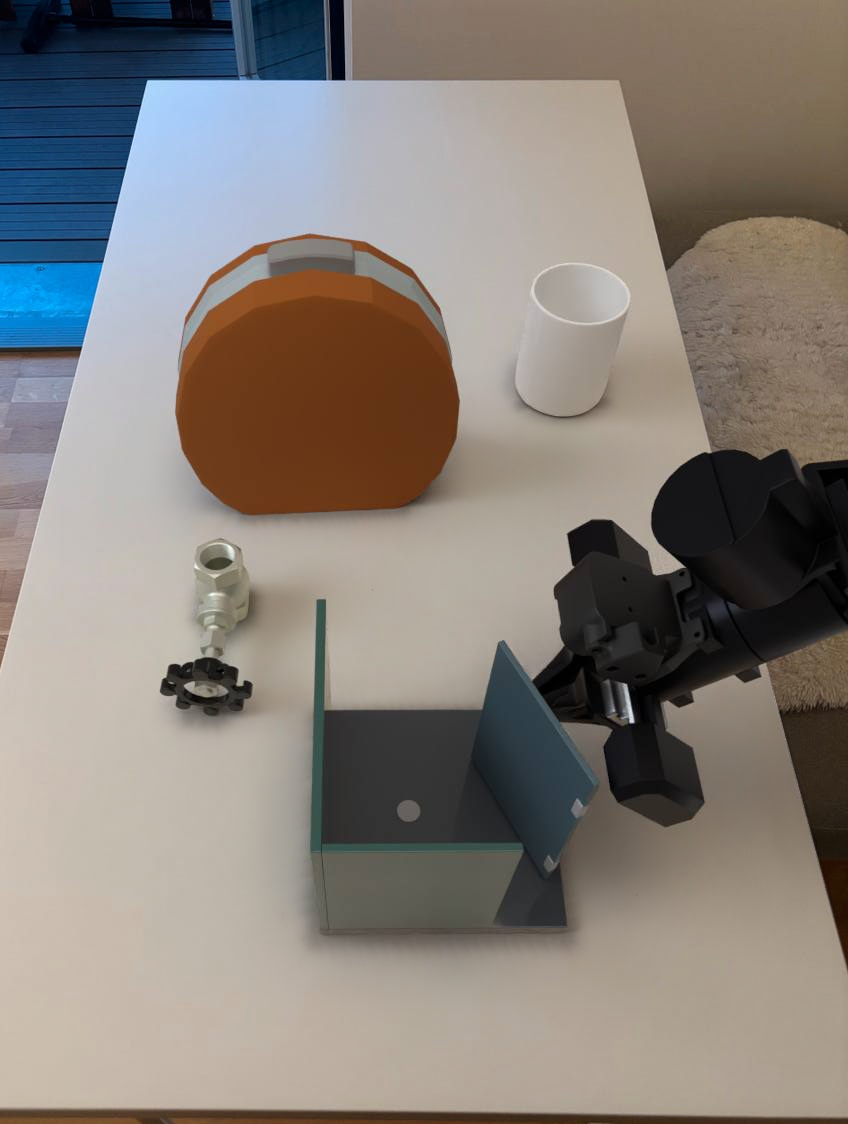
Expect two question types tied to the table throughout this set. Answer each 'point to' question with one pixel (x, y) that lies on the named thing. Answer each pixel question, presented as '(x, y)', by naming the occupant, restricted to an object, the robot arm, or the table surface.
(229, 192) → the table surface
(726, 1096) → the table surface
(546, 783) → the shower door
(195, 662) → the valve
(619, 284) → the mug
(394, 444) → the alarm clock
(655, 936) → the table surface
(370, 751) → the shower stall
